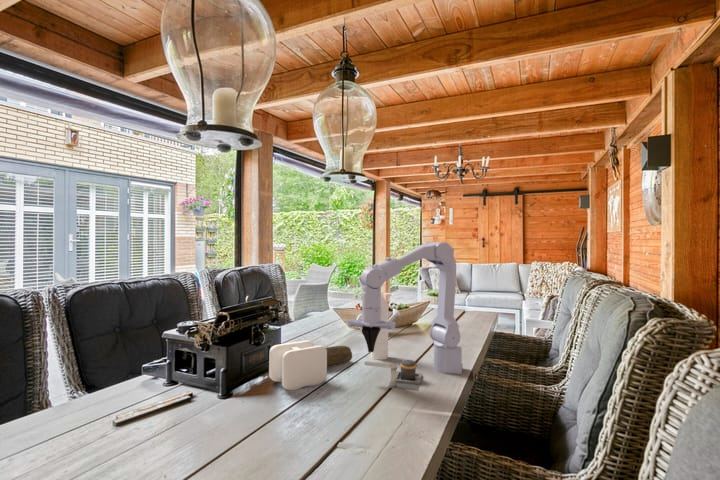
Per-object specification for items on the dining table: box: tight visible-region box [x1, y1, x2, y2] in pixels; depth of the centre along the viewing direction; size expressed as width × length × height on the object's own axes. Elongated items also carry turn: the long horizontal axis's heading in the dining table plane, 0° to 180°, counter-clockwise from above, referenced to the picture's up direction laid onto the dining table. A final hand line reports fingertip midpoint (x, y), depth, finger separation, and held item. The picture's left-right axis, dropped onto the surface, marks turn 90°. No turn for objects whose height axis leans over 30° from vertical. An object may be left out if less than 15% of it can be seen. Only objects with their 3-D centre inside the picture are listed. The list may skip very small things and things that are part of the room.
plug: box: [400, 359, 417, 381], centre depth 117 cm, size 5×5×5 cm
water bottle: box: [370, 291, 392, 361], centre depth 139 cm, size 9×6×25 cm
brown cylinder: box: [325, 345, 353, 368], centre depth 132 cm, size 15×7×7 cm, turn 131°
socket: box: [387, 368, 423, 391], centre depth 116 cm, size 9×14×6 cm, turn 166°
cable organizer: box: [268, 339, 328, 392], centre depth 116 cm, size 15×11×12 cm
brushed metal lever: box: [364, 360, 398, 370], centre depth 113 cm, size 10×2×1 cm, turn 71°
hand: (371, 351), depth 116 cm, fingers closed
